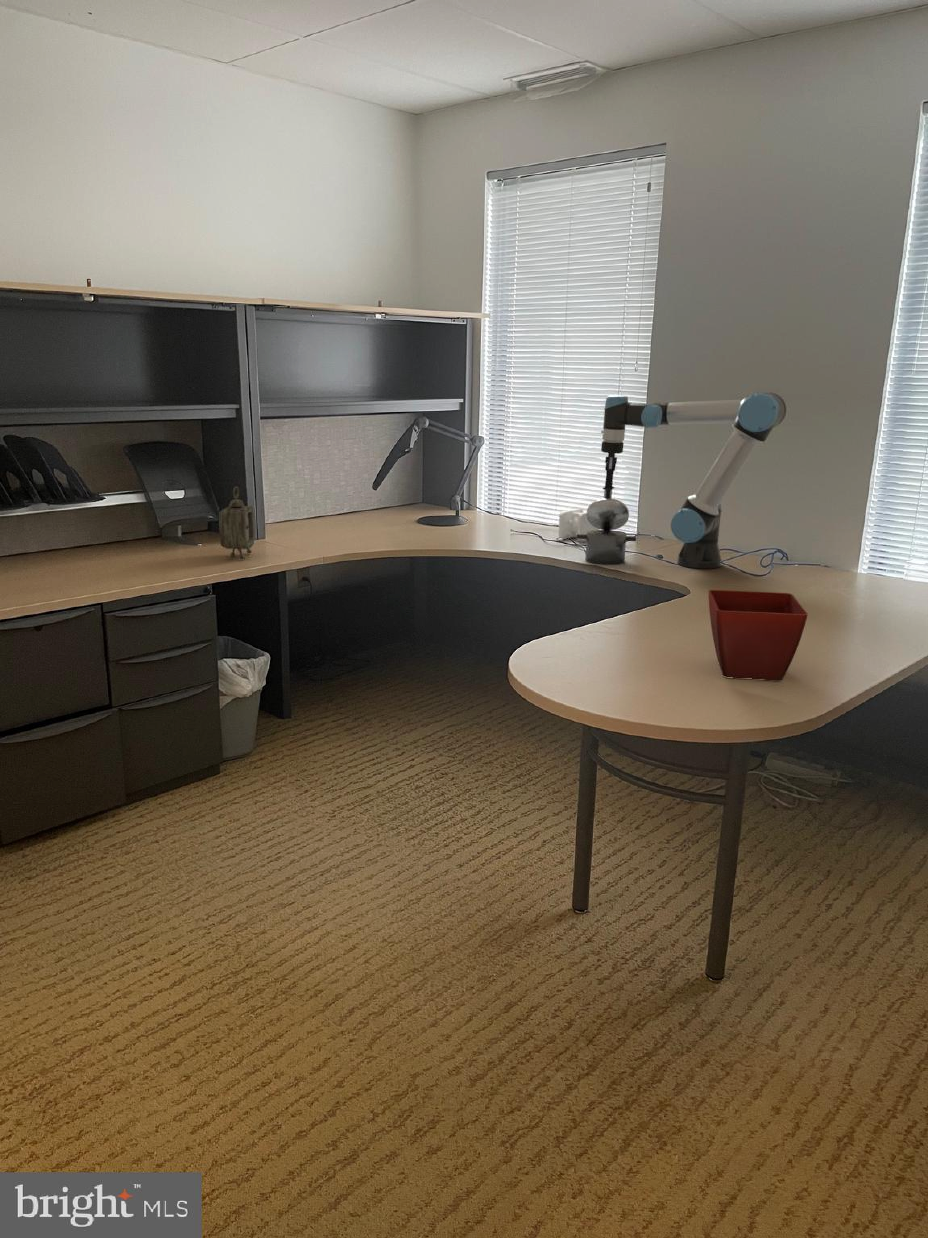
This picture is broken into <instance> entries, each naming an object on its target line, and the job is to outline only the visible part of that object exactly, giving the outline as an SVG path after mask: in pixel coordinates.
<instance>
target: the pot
mask: <svg viewBox="0 0 928 1238" xmlns="http://www.w3.org/2000/svg"><path fill="white" fill-rule="evenodd" d="M576 539H577V540H578V539H586V541H585V543H586V544H585V557H584V558H585V561H586V562H588V563H590V564H595V565H600V566H601V565H602V566H603V565H604V566H614V565H615V566H616V565H621V564H622V565H623V564H624V563H625V561H626V558H625V557H626V545H627V544H626V543H627V542H636V541H637V536H636V535H635V536H634V535H633V536H632V535H627V533H626V532H624V531H619V530H601V529H599V530H592V531H588V532H587V534H577V537H576Z"/></svg>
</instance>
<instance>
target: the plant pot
mask: <svg viewBox="0 0 928 1238" xmlns="http://www.w3.org/2000/svg"><path fill="white" fill-rule="evenodd" d="M795 597H796V596H794V594H792V593H788V592H787V593H786V592H772V591H771V592H770V591H749V590H748V591H746V590H745V591H744V590H728V589H727V590H726V589H725V590H724V589H722V590H721V589H709V590H708V607H709V618H710V627H711V633H712V639H713V644H714V649H715V654H716V659H717V661H718V662H719V663H718V665H719V667H720V671H721V673H722V676H723V675H724V676H726V677H733V678H732V679H735V678H752V679H765V680H764V681H770V680H778V681H777V682H780V681H779V680H781V681H783V679H784V677H785V676H786V674H787V672H788V670H789V667H790V666H791V663H792V662H793V659H794V656H795V654H796V652H797V649H798V647H799V644H800V641H801V639H802V637H803V636H802V635H803V633H804V628H805V626H806V623H807V619H808V614H809V613H808V612H807V611H806V610H805V609H804V608H803V606H802V604H800V603H799V601H798V599H797V598H795ZM724 676H723V677H724ZM726 677H725V678H726ZM752 679H751V680H752Z"/></svg>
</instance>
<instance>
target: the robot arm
mask: <svg viewBox="0 0 928 1238" xmlns="http://www.w3.org/2000/svg"><path fill="white" fill-rule="evenodd" d="M603 412H604V414H603V415H604V416H603V426H602V427H603V430H601V431H600V433H601V434H602V436H601V437H602V441H601V446H600V447H601V449H600V450H601V452H602V453H604V454H608V455H607V456H605V458H604V459H605V460H604V463H605V469H604V470H605V471H606V473H605V483H604V486H603V487H602V490H604V491H603V492H604V493H603V499H604V498H611V499H613V498H612V494H613V490H614V489H615V486H613V485H614V483H613V481H614V480H613V479H614V472H615V470H616V464H617V463H618V462H617V461H618V457H615V456H616V454H621V453H623V452H624V441H625V434H626V426H634V427H641V428H642V427H643V428H646V429H647V428H649V429H650V428H651V429H654V428H658V427H659V426H663V425H664V426H668V425H703V424H707V425H709V424H710V425H711V424H715V425H716V424H731V426H732V430H733V431H732V433H731V435H730V436H729V438H728V440H727V441H726V443H725V445H724V446H723V448H722V450H721V451H720V453H719V454H718V455H717V458H716V459H715V461H714V463H713V464H712V466H711V468H710V469H709V471H708V472H707V474H706V476H705V477H704V479H703V481H701V483H700V484H699V487H698V489H697V490H696V491H695V493H694V494H692V495H689V496H687V498H686V500H685V501H684V503H683V504H682V506H681V508H680V509H679V510H678V511H676V512H675V513H674V514H673V516H672V518H671V520H670V529H671V532H672V535H673V536H674V537H675V538H676V539H677V540H678V541H680V542H682V543H683V544H682V546H681V549H680V551H679V554H678V555H677V565H680V566H683V567H685V568H686V567H688V568H691V569H705V570H706V569H707V570H708V569H709V570H710V569H716V568H717V569H718V568H720V567H721V566H722V556H721V552H720V548H719V537H720V525H721V517H722V516H721V515H722V511H723V510H722V504H721V502H722V501H723V499H724V498H725V496H726V494H727V492H729V490H730V488H731V486H732V485H733V483H734V481H735V480H736V479H737V477H738V475H739V474H740V472H741V470H742V469H743V467H744V466H745V464H746V463H747V461H748V459H749V458H750V457H751V454H752V453H753V452H754V450H755V448H756V447H757V446H758V445H760V444H762V443H765V441H766V440H767V438H768V437H769V435H770V433H771V432H772V431H773V429H774V428H776V427H778V426H779V425H781V424H782V423H783V421H784V419H785V417H786V414H787V405H786V402H785V400H784V399H783V398H782V397H781V396H780V395H779V394H777V393H775V392H756V393H753V394H751V395H749V396H745V397H744V398H743V399H731V400H727V399H726V400H705V401H702V400H701V401H679V402H677V401H676V402H675V401H674V402H654V403H653V402H652V403H637V402H636V403H634V402H633V403H632V402H629V398H628V396H626V395H621V394H610V395H607V397H606V400H605V405H604V411H603Z"/></svg>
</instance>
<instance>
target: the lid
mask: <svg viewBox="0 0 928 1238" xmlns="http://www.w3.org/2000/svg"><path fill="white" fill-rule="evenodd" d="M629 511H630V510H629V508H628V506H627V505H626V504H625V503H624V502H622V501H621V500H618V499H615V498H604V497H603V498H600V499H597V500H594V501H593V502H592V503H590V504H589V506H588V507H587V509H586V512H587V520H588V521H589V523H590V524H591V525H592V526H594V527H596V528H598V529H599V530H613V531H616V530H618V529H620V528H622V527H623V526H624V525H626V524H627V522H628V521H629V517H630V512H629Z"/></svg>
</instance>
